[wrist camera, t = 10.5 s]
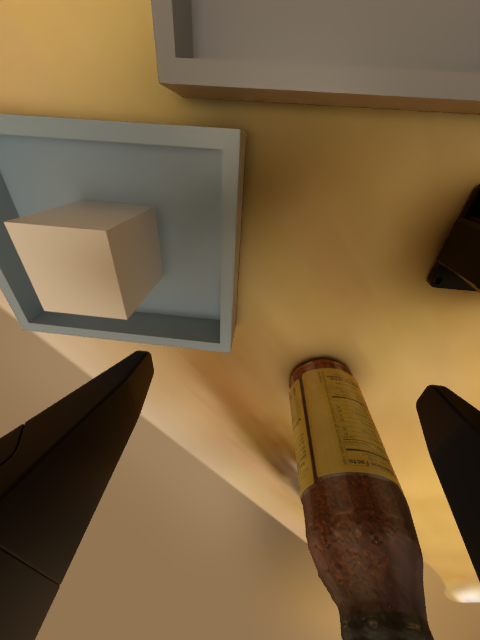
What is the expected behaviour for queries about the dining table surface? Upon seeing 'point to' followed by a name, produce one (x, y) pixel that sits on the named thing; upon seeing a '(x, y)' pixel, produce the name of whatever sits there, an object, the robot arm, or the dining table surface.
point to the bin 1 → (139, 189)
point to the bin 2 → (323, 52)
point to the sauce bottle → (355, 509)
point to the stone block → (90, 256)
